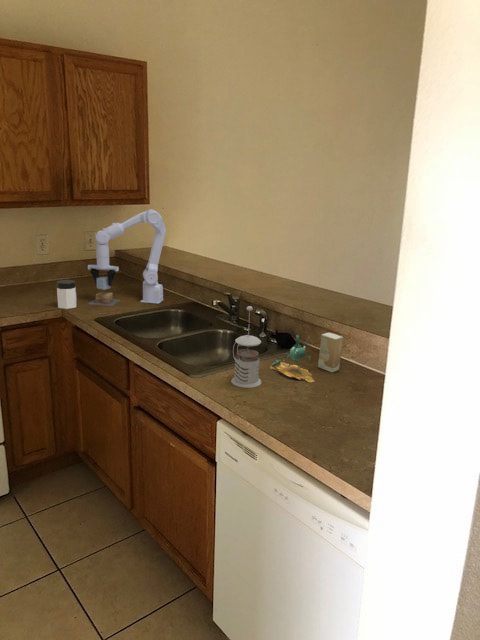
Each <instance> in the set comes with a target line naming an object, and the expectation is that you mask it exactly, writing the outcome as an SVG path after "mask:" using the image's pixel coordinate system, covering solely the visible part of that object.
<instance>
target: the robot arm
mask: <svg viewBox="0 0 480 640" xmlns="http://www.w3.org/2000/svg"><path fill="white" fill-rule="evenodd" d="M147 223H148V224H149V225H151V226H152V228H153V229H154V230H155V232H154V235H153V241H152V245H151V249H150V253H149V257H148V258H149V259H148V262H147V263H146V267H145V269H144V270H143V272H142V277H143V279H144V280H143V282H142V299H141V300H140V303H146V304H147V303H148V304H157V305H159V304H160V303H161V302H162V301H164V287H163V284H160V283H159V282H158V279H159V277H158V276H159V275H158V271H159V270H158V269H159V262H160V258H161V255H162V254H161V253H162V249H163V245H164V242H165V238H166V233H167V228H166V225H165V223H164V219H163V216H162V215H161V214H160V213H159V212H158V211H156V210H155V209H152V208H150V209H147V210H146V211H145V210H144V211H142V212H140V213H138V214H136V215H134V216H132V217H131V218H129V219H127V220H125V221H124V222H122V223H121V222H113V223H111V225H109V226H108V227H107V226H106V228H105V227H103V228H102V230H98V231H97V232H96V234H95V241H96V243H95V245H96V249H95V250H96V251H95V253H96V264H88V265H87V270H89V271H90V274H91V275H92V277H93V280H94V283H95V285H96V286H97V281H96V278H99V277H100V275H99V274H100V271H107V272H106V273H107V277H108V279H109V286H112V285H113V281H114V278H115V275H116V272H119V270H120V268H119V266H117V265H116V266H115V265H110V247H109V241H110V240H111V241H112V240H113V239H116V238H118V237H119V236H122V235H123V234H124V232H125V230H128V229H129V228H132V227H133V226H136V225H138V224H147Z"/></svg>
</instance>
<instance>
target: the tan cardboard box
mask: <svg viewBox="0 0 480 640" xmlns="http://www.w3.org/2000/svg"><path fill="white" fill-rule="evenodd" d="M95 299H96V298H95ZM113 299H114V296H113V297H112V298H110V299H108V300H104V299H96V303H103V304H109V303H110V302H112V301H113Z"/></svg>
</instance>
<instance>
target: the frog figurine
mask: <svg viewBox="0 0 480 640" xmlns="http://www.w3.org/2000/svg"><path fill="white" fill-rule="evenodd" d="M295 340H296V343H295V344H294V345H293V346H292V347H291V348H290V350H289V353H284V357H283V359H281V358H280V359H279V356H277V359H275V360H274V361H273V362H272V363H271V365H270V367H269V368H270V369H271V370H273V371H278V372H280V373H281V374H282V375H284V376H286V377H289V378H293V379H298V380H300V381H301V380H303V381H305V382H308V383H311V384H312V382H313V383H315V379H314V378H313V374H312V373H311V372H309V370H308V369H305V368H303V367H301V366H300V363H299V362H298V361H300V360H301V361H302V360H303V358H304V357H305V358H306V359H308V361H311V355H307V353H305V351H306V349H307V344H306V343H303V345H301V344H300V336H299V335H297V334H296V336H295ZM286 355H287V356H286ZM285 358H286V359H287V363H286V362H285ZM289 358H291V360H290V361H289ZM281 361H282V362H281ZM292 361H293V362H295V363H296V364H291V363H290V362H292Z"/></svg>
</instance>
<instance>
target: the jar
mask: <svg viewBox="0 0 480 640" xmlns="http://www.w3.org/2000/svg"><path fill="white" fill-rule="evenodd" d="M56 294H57V295H56V296H57V297H56V298H57V308H58V309H65V310H68V309H74V308H77V288H76V281H75V280H72V279H61V280H57V281H56Z"/></svg>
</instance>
